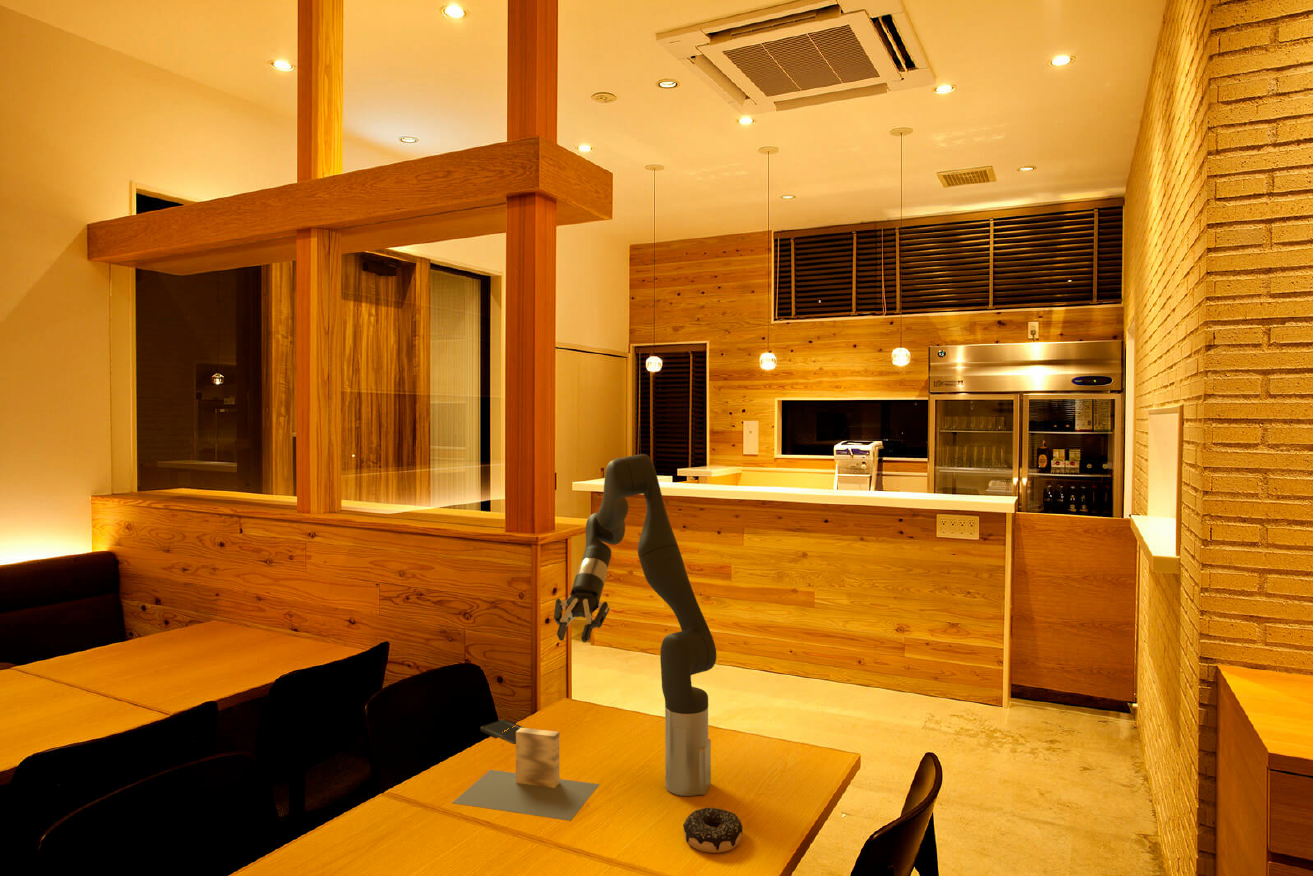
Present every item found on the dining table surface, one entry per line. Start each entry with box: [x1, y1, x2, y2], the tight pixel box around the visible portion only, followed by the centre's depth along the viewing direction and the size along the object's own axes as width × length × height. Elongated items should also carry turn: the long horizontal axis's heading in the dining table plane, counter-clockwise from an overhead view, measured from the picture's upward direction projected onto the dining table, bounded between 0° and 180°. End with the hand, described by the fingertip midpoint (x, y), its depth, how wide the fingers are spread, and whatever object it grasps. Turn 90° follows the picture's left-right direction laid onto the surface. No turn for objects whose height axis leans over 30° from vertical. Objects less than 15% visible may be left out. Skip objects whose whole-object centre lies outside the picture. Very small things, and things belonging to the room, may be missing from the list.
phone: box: [480, 719, 525, 745], centre depth 196 cm, size 8×1×15 cm
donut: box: [682, 807, 744, 854], centre depth 145 cm, size 11×12×4 cm
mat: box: [451, 769, 600, 822], centre depth 162 cm, size 26×16×1 cm, turn 74°
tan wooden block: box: [515, 727, 560, 788], centre depth 167 cm, size 9×3×11 cm, turn 74°
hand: (572, 639), depth 186 cm, fingers open, 5 cm apart
